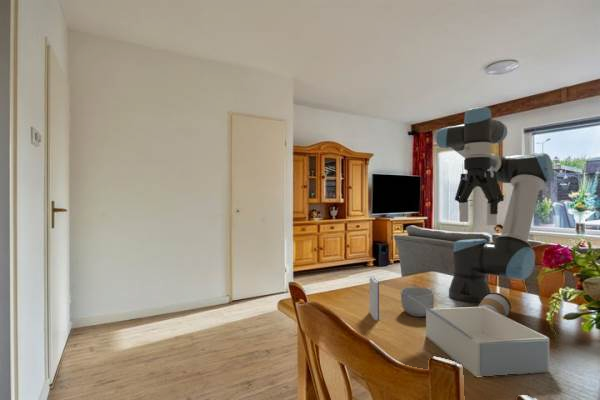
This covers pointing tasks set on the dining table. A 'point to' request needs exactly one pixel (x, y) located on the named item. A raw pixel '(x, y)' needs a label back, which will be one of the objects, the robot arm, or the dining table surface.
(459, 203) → the robot arm
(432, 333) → the carton
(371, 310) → the hard drive
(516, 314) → the dining table surface
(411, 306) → the teacup
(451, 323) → the flap
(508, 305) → the coffee cup
